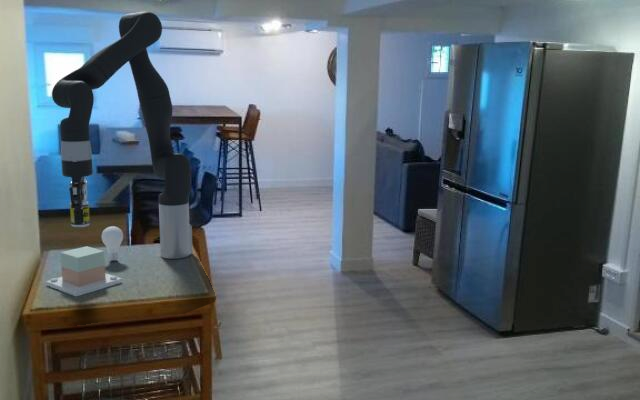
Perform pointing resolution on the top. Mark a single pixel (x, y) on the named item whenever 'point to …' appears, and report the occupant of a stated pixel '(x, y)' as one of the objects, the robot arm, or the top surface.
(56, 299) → the top surface
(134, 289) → the top surface
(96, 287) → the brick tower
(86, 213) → the supplement bottle
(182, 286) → the top surface
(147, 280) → the top surface
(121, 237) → the lightbulb
